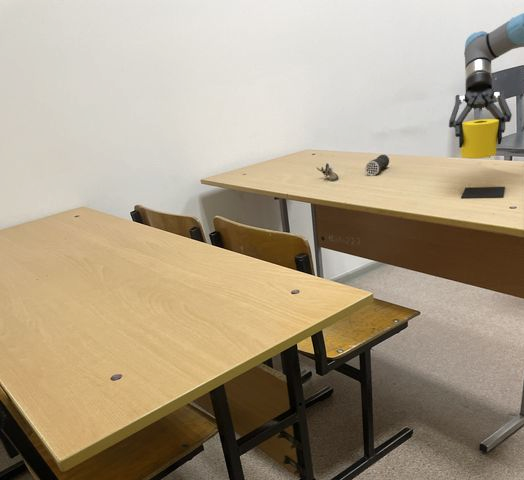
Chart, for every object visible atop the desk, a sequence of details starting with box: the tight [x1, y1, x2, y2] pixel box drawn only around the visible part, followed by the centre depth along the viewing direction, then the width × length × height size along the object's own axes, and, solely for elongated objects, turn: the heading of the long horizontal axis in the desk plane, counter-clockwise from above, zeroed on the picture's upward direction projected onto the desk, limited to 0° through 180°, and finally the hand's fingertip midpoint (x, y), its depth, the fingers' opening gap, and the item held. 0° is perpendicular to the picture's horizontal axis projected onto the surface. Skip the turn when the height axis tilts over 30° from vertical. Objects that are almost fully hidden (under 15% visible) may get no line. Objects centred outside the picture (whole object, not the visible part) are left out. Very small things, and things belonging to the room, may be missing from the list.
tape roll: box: [460, 118, 499, 160], centre depth 159 cm, size 10×10×9 cm
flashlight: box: [364, 154, 390, 177], centre depth 211 cm, size 15×5×5 cm, turn 152°
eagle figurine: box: [316, 163, 339, 182], centre depth 209 cm, size 8×7×9 cm
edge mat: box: [460, 186, 506, 199], centre depth 166 cm, size 12×12×1 cm
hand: (480, 143), depth 157 cm, fingers closed on tape roll, 10 cm apart
